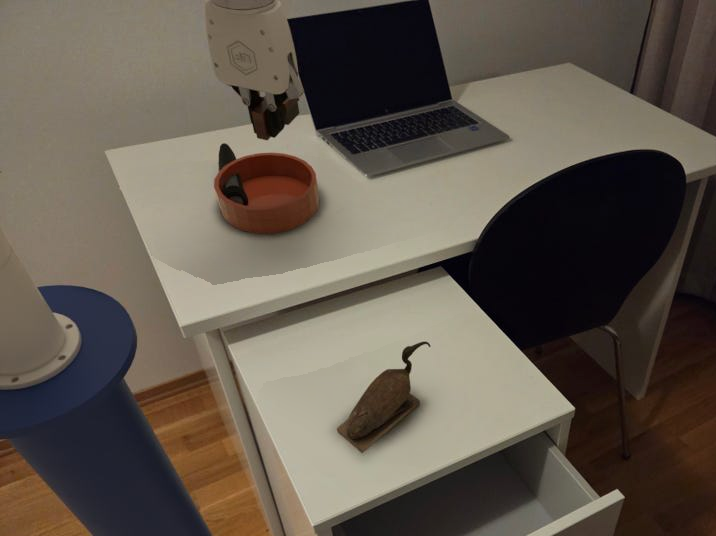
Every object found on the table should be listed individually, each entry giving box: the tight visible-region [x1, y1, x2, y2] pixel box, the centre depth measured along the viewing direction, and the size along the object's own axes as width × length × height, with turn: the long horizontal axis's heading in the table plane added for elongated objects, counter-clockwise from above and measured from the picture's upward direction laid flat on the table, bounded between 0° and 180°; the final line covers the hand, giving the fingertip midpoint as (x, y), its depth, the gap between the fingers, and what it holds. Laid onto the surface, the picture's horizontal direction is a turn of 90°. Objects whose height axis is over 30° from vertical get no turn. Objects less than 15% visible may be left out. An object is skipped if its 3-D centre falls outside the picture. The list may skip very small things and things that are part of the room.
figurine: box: [336, 341, 432, 454], centre depth 76 cm, size 14×4×9 cm, turn 140°
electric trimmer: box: [218, 142, 248, 206], centre depth 105 cm, size 4×16×3 cm, turn 20°
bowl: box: [213, 152, 320, 234], centre depth 102 cm, size 15×15×4 cm
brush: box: [252, 95, 300, 141], centre depth 90 cm, size 8×4×4 cm, turn 165°
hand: (269, 130), depth 90 cm, fingers closed on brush
